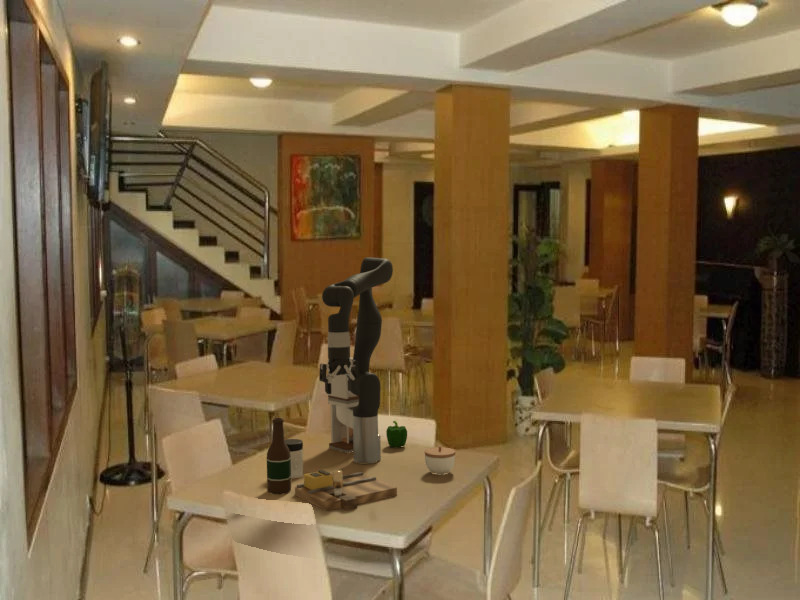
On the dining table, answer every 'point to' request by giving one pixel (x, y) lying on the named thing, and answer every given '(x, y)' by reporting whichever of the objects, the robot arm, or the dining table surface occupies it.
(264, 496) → the dining table surface
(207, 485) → the dining table surface
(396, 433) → the bell pepper
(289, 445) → the jar
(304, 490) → the subfloor panel
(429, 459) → the lidded jar
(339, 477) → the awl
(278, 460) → the beer bottle
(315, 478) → the stud finder
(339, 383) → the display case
